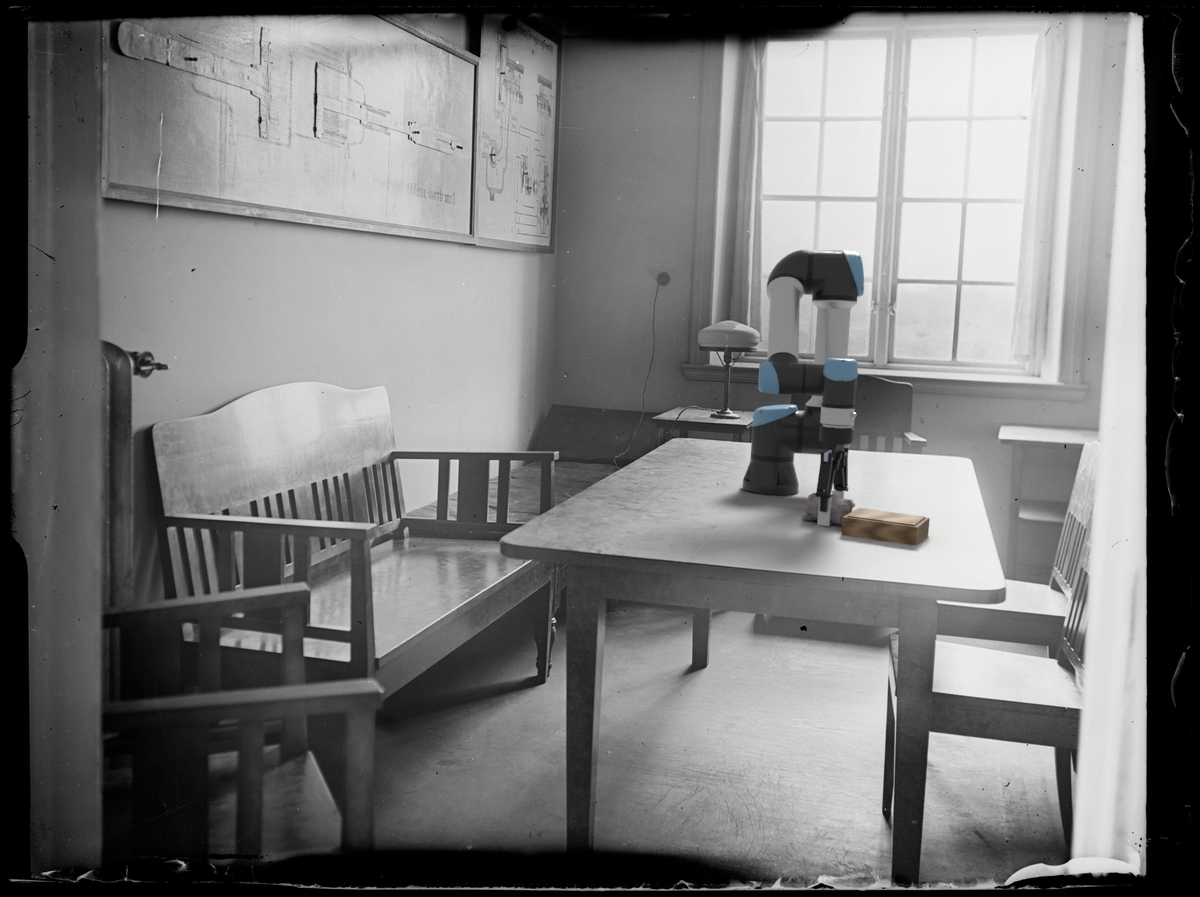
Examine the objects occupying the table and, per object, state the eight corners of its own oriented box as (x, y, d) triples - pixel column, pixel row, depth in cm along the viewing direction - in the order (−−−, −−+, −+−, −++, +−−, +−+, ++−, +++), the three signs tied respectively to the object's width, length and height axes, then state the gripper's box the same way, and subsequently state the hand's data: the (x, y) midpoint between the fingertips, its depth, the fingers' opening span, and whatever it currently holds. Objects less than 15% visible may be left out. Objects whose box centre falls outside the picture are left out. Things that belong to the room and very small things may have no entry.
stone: (846, 529, 217) (849, 499, 216) (797, 521, 223) (799, 492, 222) (859, 524, 223) (861, 495, 222) (810, 516, 230) (812, 488, 229)
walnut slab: (841, 534, 211) (842, 515, 210) (856, 525, 221) (858, 507, 220) (915, 545, 203) (917, 526, 202) (928, 535, 213) (929, 516, 212)
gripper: (838, 431, 209) (831, 532, 212) (866, 423, 227) (859, 516, 231) (805, 428, 213) (799, 527, 216) (834, 420, 231) (828, 511, 234)
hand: (830, 521), depth 223 cm, fingers open, 9 cm apart
